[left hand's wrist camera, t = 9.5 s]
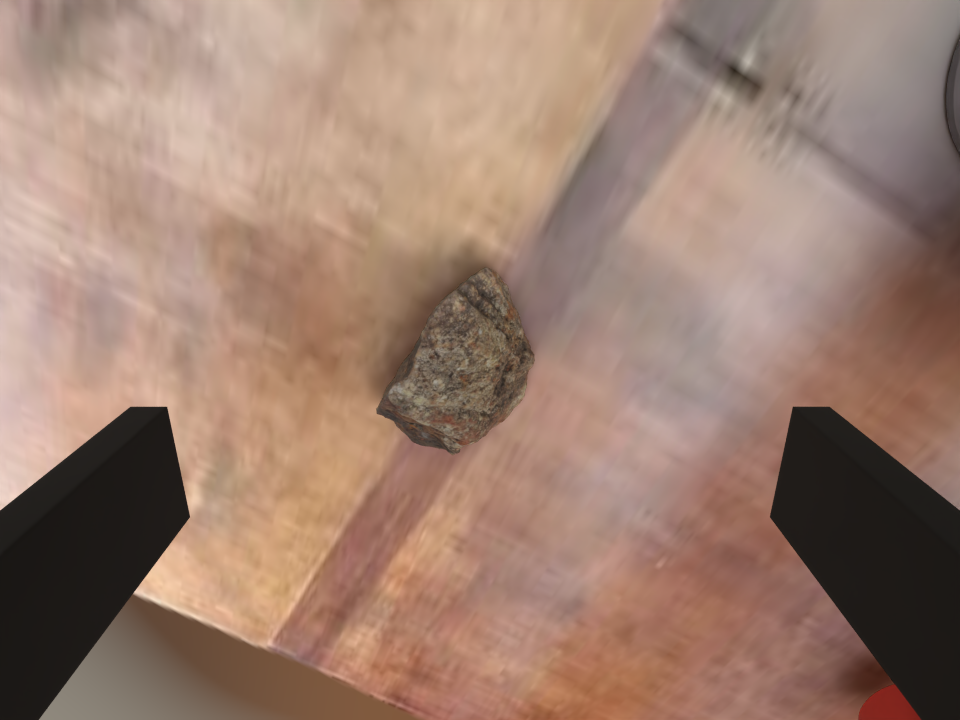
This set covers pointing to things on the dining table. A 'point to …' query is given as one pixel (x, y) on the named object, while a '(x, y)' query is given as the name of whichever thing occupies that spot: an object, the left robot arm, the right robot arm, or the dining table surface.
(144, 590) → the dining table surface
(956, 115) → the left robot arm
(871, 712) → the can
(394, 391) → the rock
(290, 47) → the dining table surface
